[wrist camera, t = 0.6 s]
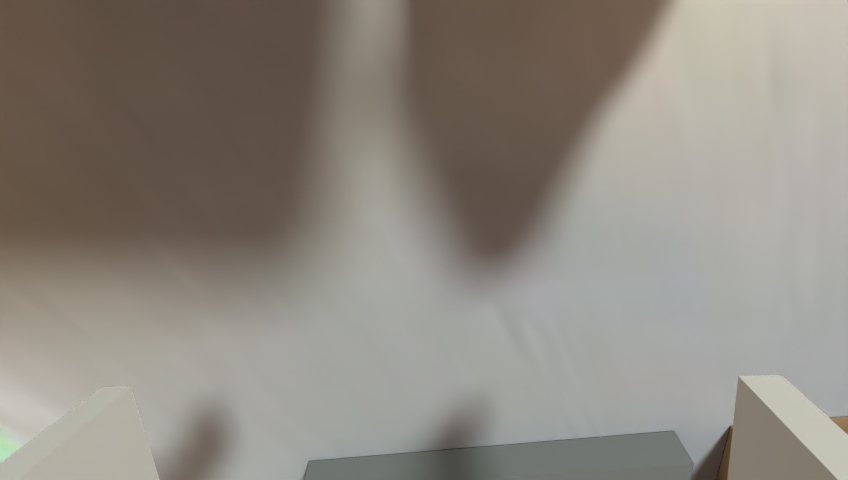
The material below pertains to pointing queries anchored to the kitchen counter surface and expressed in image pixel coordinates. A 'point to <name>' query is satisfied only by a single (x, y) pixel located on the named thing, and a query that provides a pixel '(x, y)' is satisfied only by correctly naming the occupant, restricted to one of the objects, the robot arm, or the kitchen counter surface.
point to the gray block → (525, 461)
